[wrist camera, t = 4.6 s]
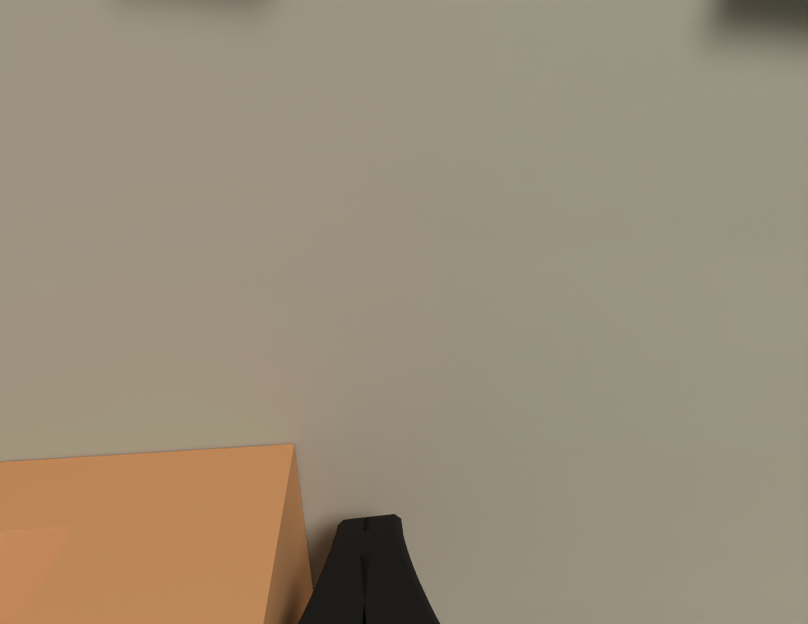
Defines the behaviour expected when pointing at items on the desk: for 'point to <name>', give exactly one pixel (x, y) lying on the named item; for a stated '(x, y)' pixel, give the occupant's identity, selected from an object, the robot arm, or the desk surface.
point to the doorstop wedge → (154, 539)
